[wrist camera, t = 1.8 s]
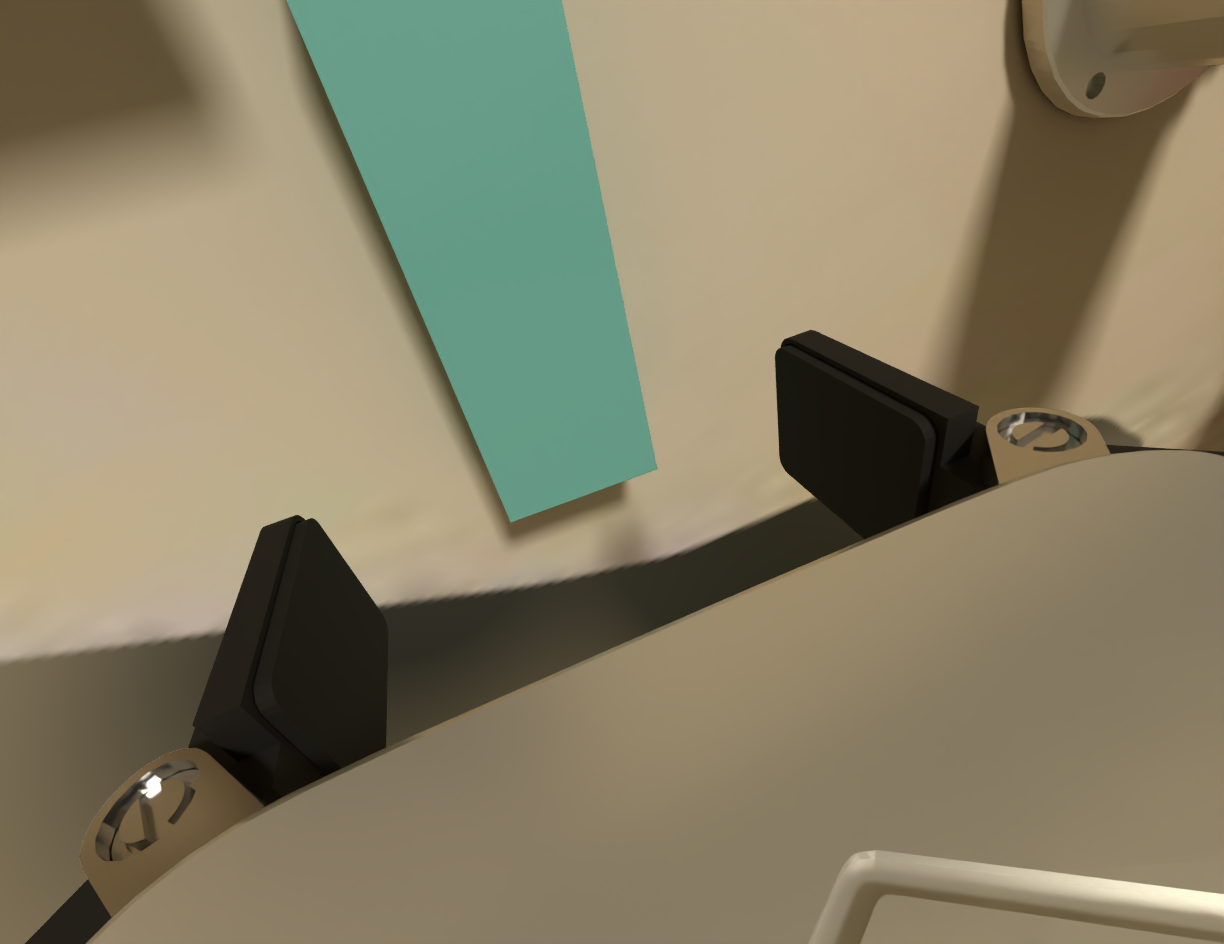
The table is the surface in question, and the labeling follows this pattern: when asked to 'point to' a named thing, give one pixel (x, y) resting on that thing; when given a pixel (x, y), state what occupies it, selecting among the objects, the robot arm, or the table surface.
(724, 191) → the table surface
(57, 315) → the table surface
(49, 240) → the table surface
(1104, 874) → the robot arm
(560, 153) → the teal flat plank
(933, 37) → the table surface
